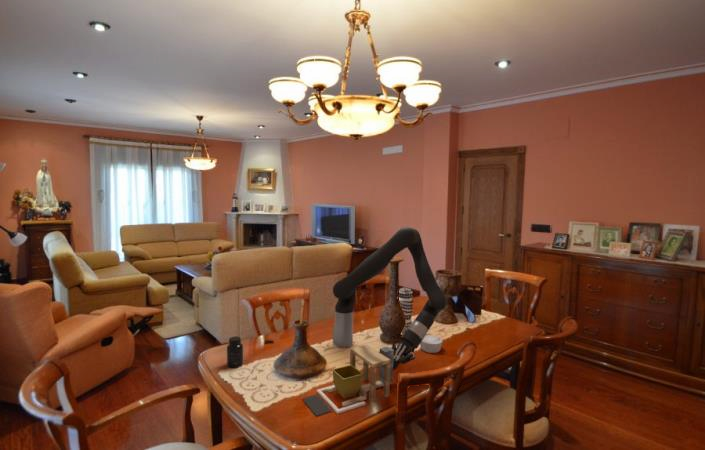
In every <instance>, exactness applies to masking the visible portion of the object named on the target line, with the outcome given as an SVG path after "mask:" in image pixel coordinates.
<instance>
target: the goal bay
mask: <svg viewBox="0 0 705 450" xmlns="http://www.w3.org/2000/svg"><path fill="white" fill-rule="evenodd" d="M331 387H335V385H334V384H332V385H329V386H326V387H322V388H318V389H316V393H317V395H318V396H319V397H320V398H321V399H322V400H323V401H324V402H325V403H326V404H327V405H328V407H329V406H330V407H329V408H330V409H331V410H332V411H334V412H335V413H336V414H337V415H338V414H342V413H344V412H347V411H350V410H353V409H357V408H361V407H363V406H365V405H366V401H364V400H362V401H359V402H356V403H353V404H349V405H346V406H342V407H341V408H338V406H337V405H336V404H334V402H333V401H331V399H330V398H329V397H328V396H327V395H326V394H325V393H324V392H328V388H331Z"/></svg>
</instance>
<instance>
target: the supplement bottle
mask: <svg viewBox="0 0 705 450" xmlns="http://www.w3.org/2000/svg"><path fill="white" fill-rule="evenodd" d="M241 340H242V338H241V337H240V336H231V337H230V338H229V339H228V344H227V345H226V366H227V367H228V368H231V369H236V368H240V367H242V366H243V364H244V344H243V343H242V341H241Z"/></svg>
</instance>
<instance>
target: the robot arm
mask: <svg viewBox="0 0 705 450" xmlns="http://www.w3.org/2000/svg"><path fill="white" fill-rule="evenodd" d="M422 241H423V240H422V238H421V234H420V232H419V231H418V229H415V228H414V227H409V226H405V227H401V228H400V229H399V230H397V231H396V232H395V233H394V234H393V235H392V237H391V238H390V239H388V240H387V242H385V243H384V244H382V245H381V246H380V247H379V248H377V249H376V250H375V251H374V252H373V253H371V254H370V255H369V256H367V257H366V258H365V259H363V261H362V262H361V263H360V264H359V265H357V266H356V267H355V268H354V269H353V270H352V271H351V272H350V273H349V274H347V275H346V276H345V277H343V278H341V279H340V280H338V281H336V283H335V284H334V285H333V287H332V293H333V295H334V297H335V298H336V299H337V301H336V304H335V305H334V306H335V307H334V324H333V325H332V344H333V345H334V346H336V347H338V348H349V347H351V346H353V337H354V307H355V305H356V296H357V295H356V293H357V288H358V287H360V286H361V285H362V284H364V283H366V282H368V281H370V280H371V279H372V278H375V277H376V276H377V275H378V274H380V273H381V272H382V271H384V270H385V269H386V268H387V267H388V266H389V265H390V263H391V261H392V260H393V258H394V257H395V256H396V255H397V254H399V253H401V252H402V251H403V250H405V249H408V251H409V253H410V255H411V257H412V259H413V264H414V270H415V275H416V277H417V280H418V282H419V285H420V287H421V289H422V291H423V292H425V293H426V296H427V298H428V300H426V302H425V304H424V306H423V307H422V309H421V311H420V312H419V313H418V314H417V316H416V317H415V319H414V321H412V323H411V325H410V326H409V328H408V329H407V330H406V332H405V333H404V335H403V336H401V340H400V341H399V342H398V343H392V346H391V349H393V350H394V358H393V372H394V371H395V370H396V369H397V368H398V367H399V365H400V364H402V365H405V364H408V363H409V362H411V361H413V360H415V359H416V356H415V354H414V352H415V350H416V349H418V348H419V346H420V343H421V342H422V340H423V339H424V337H425V336H426V335H428V332H429V330H430V329H431V328H432V326H433V324H434V322H435V319H436V318H437V316H438V315H439V313H440V312H441V311H442V310H445V309H446V307H447V303H448V302H447V297H446V296H445V294H444V292H443V290H442V288H441V287H440V286H439V285H438V283H437V280H436V278H435V275H434V273H433V271H432V267H431V265H430V264H429V261H428V258H427V255H426V251H425V249H424V244H423V242H422Z"/></svg>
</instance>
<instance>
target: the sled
mask: <svg viewBox="0 0 705 450" xmlns="http://www.w3.org/2000/svg"><path fill="white" fill-rule="evenodd" d="M379 353H381V354H382V355H384V356H386V357H387V358H389V359H390V385H391V384H392V383H393V382H394V380H393V379H394V371H393V358H394V350H393V349H392V347H390V346H383V347H380V348H379ZM382 387H384V365H380V366H378V380H376V389H378V388H382ZM335 391H337V390H336V388H335V387H331V388H328V391H327V392H328V393H331V392H335ZM368 391H369V392H370V383H367V384H363V385H361V387H360V390H359V391H358V393H357V394H358V395H359V396H358V397H355V398H350V399H347V400H345V401H342V402H341V407H347V406H350V405H353V404H356V403H359V402H362V401H364V400H365V401H366V400H367V392H368Z"/></svg>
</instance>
